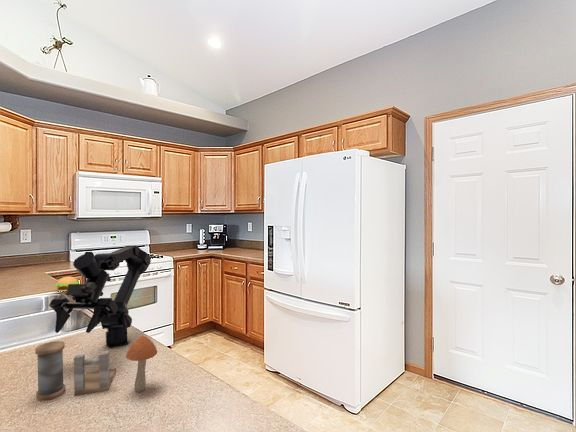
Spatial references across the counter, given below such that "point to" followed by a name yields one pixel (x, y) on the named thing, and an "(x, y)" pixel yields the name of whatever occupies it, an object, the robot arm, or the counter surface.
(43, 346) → the ball
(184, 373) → the counter surface
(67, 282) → the hamburger
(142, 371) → the mushroom
